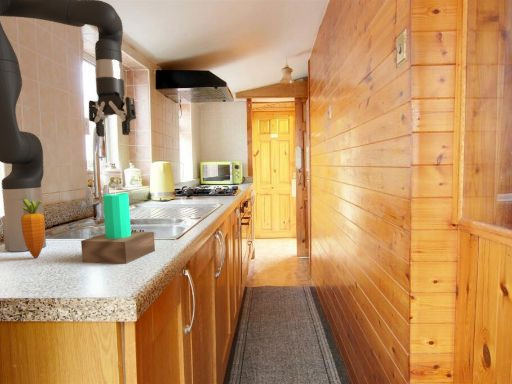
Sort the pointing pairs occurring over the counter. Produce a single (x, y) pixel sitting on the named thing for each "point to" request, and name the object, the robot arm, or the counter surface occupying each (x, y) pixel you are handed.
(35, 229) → the carrot
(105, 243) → the walnut stand
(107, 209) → the candle
